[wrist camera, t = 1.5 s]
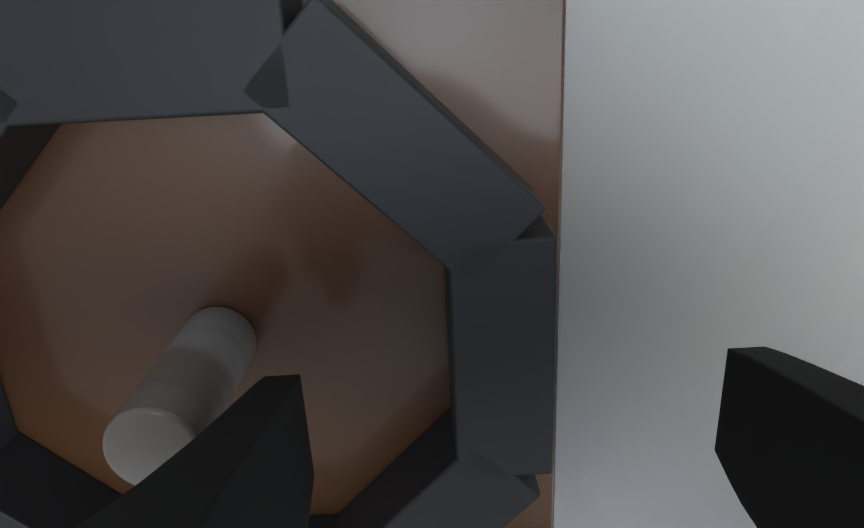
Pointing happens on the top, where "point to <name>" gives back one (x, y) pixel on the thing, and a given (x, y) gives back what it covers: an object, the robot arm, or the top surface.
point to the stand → (260, 265)
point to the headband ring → (363, 171)
